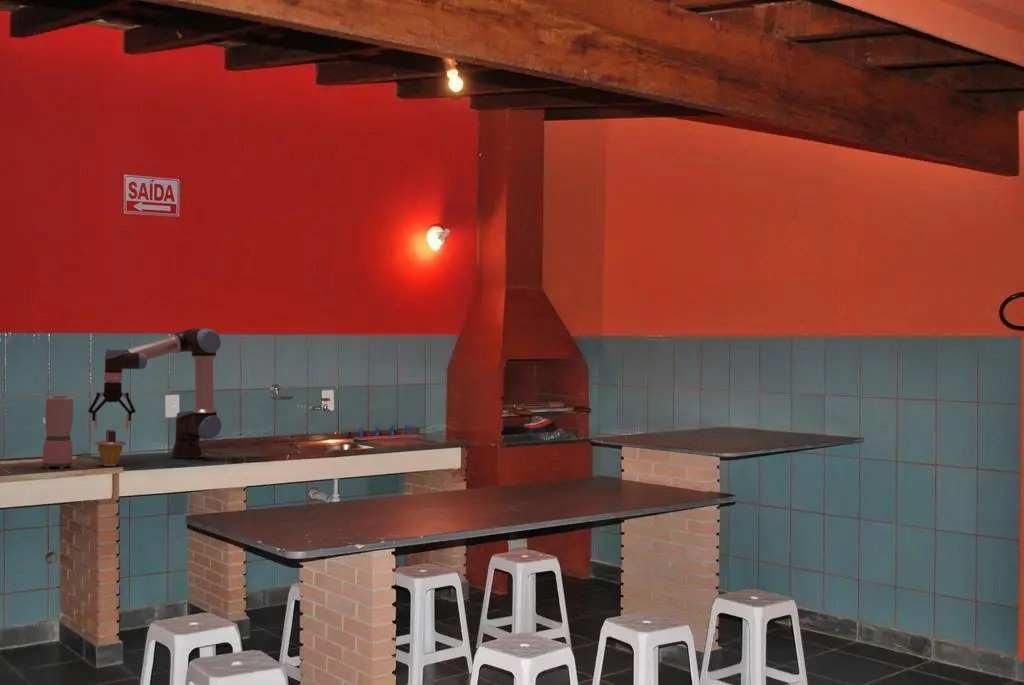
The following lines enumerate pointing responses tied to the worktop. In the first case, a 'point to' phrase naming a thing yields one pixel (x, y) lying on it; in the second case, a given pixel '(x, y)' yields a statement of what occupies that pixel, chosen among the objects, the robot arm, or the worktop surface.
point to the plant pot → (109, 454)
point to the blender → (58, 432)
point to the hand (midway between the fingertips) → (111, 428)
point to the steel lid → (110, 440)
